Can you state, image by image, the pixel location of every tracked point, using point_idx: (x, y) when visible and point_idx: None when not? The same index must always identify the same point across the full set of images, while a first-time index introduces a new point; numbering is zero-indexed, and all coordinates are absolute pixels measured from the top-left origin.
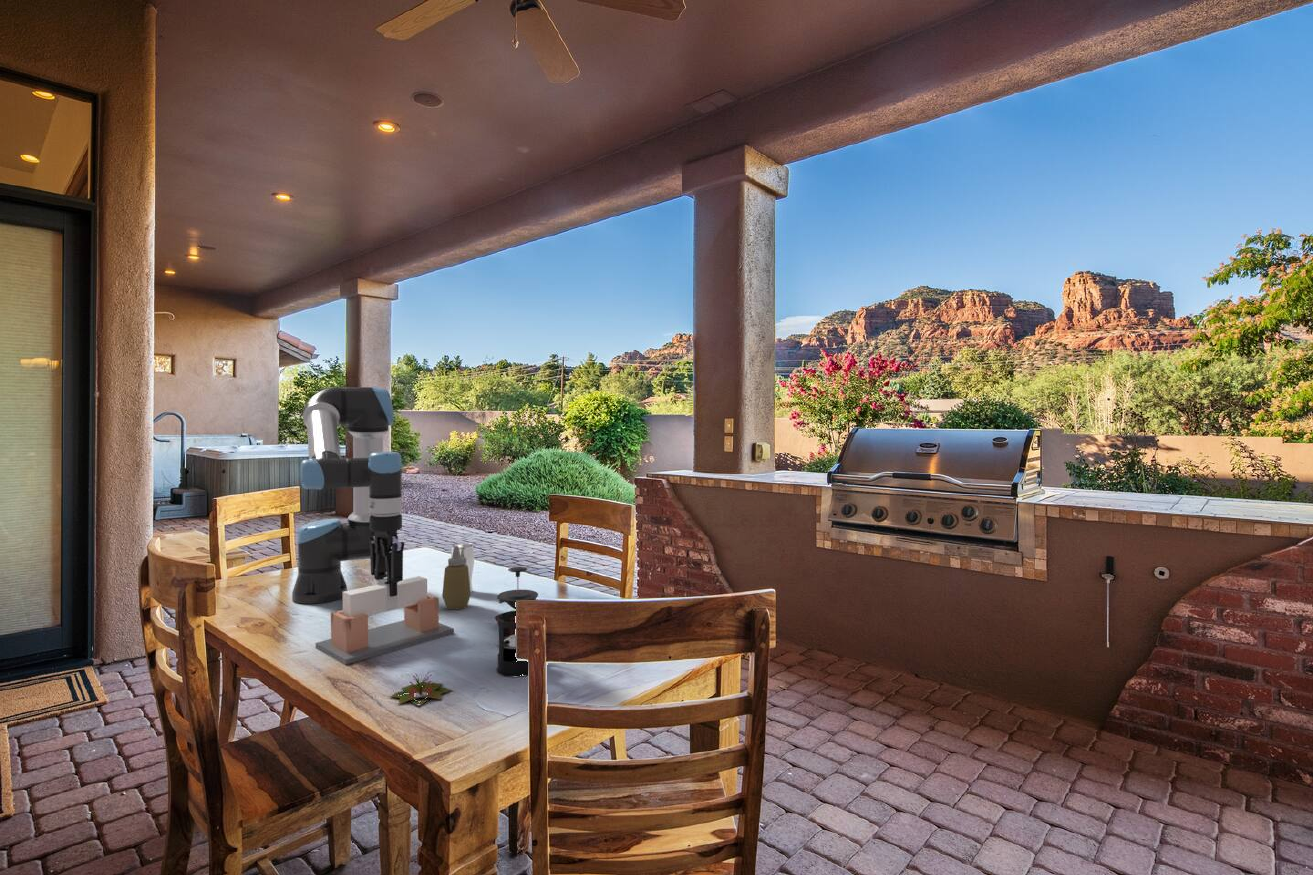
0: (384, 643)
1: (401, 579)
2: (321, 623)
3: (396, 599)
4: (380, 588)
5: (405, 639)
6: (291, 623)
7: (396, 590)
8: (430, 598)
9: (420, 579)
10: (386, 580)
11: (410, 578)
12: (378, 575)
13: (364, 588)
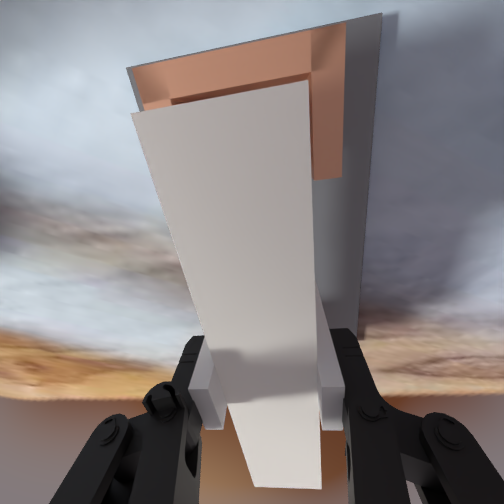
0: (325, 269)
1: (463, 435)
2: (60, 301)
3: (319, 303)
4: (315, 417)
5: (341, 220)
6: (41, 336)
7: (363, 356)
8: (318, 88)
9: (282, 162)
10: (213, 383)
11: (185, 222)
12: (198, 454)
13: (260, 446)
